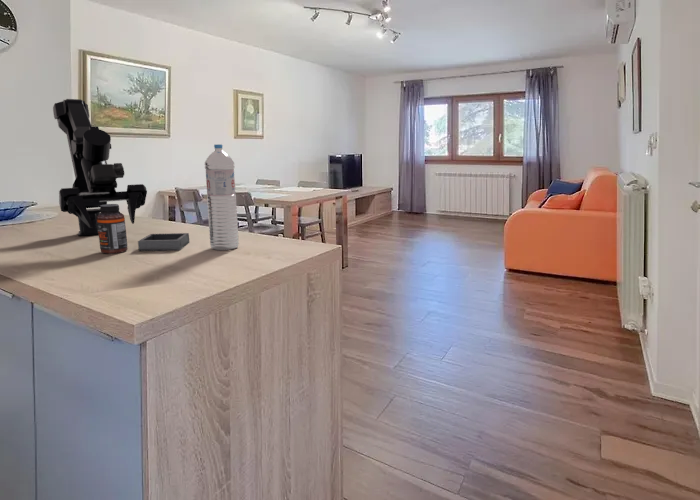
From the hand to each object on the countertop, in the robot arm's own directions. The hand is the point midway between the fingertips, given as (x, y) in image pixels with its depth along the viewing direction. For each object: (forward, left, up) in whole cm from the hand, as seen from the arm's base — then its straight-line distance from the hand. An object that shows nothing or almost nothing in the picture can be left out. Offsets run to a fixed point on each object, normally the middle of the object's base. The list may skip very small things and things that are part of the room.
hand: (112, 224), depth 114 cm
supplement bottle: (-1, 0, -7) cm, 7 cm away
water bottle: (+7, +24, -7) cm, 26 cm away
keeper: (-1, +11, -7) cm, 13 cm away
